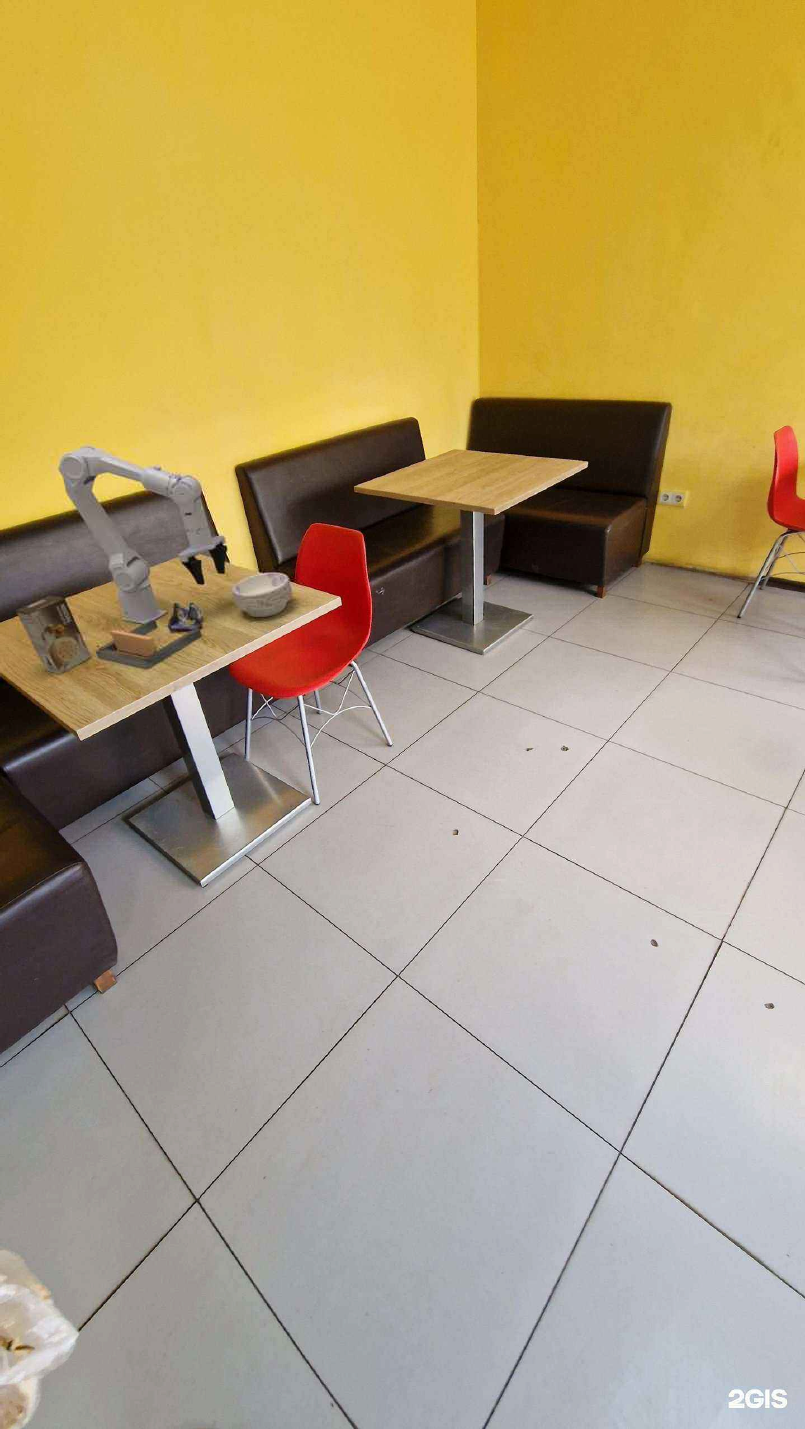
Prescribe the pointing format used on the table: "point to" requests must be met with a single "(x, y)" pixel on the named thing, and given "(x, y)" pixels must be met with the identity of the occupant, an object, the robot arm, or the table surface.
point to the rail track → (153, 659)
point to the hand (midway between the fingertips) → (211, 578)
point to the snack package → (185, 617)
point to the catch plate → (133, 643)
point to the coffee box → (54, 634)
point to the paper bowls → (262, 594)
